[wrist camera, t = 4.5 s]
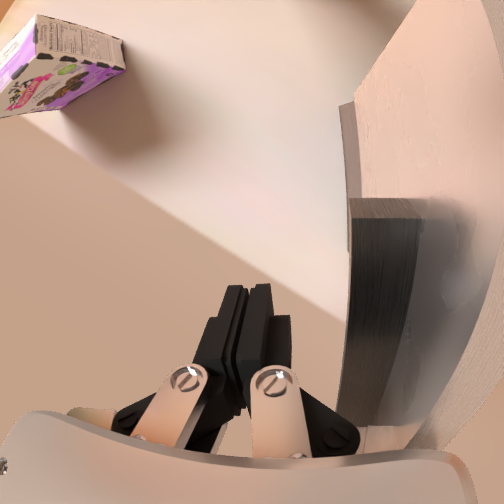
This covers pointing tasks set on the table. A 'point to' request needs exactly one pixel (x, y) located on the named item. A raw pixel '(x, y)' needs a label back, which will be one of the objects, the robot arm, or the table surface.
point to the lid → (428, 227)
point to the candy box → (55, 65)
